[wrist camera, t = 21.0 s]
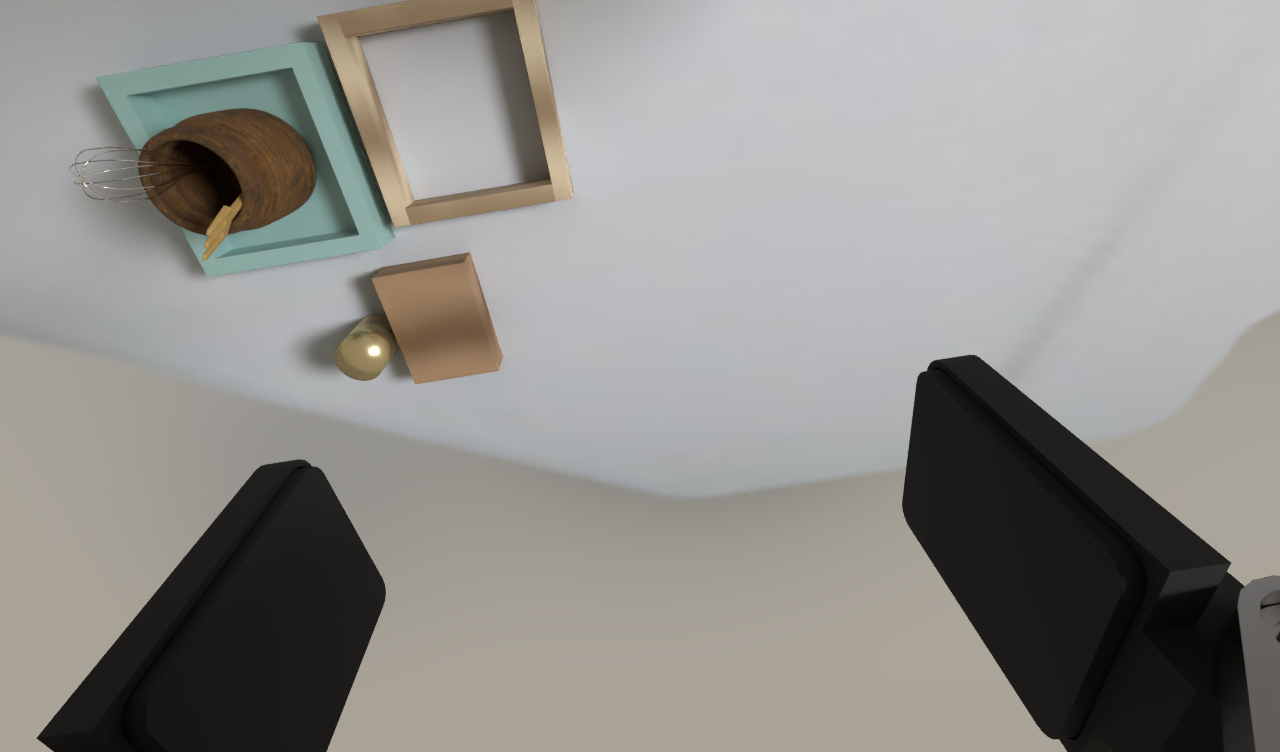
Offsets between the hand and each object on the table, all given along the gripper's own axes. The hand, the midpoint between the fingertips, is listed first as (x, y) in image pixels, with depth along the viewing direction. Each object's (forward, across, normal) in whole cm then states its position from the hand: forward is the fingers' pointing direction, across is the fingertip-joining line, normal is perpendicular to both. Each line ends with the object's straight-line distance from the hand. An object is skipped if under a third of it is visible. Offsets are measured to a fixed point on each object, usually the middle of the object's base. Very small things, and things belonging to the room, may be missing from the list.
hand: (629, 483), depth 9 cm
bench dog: (+30, +18, +9) cm, 36 cm away
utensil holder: (+30, +20, -3) cm, 36 cm away
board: (+31, +13, +8) cm, 34 cm away
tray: (+30, +20, -3) cm, 36 cm away
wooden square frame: (+30, +8, -4) cm, 32 cm away
